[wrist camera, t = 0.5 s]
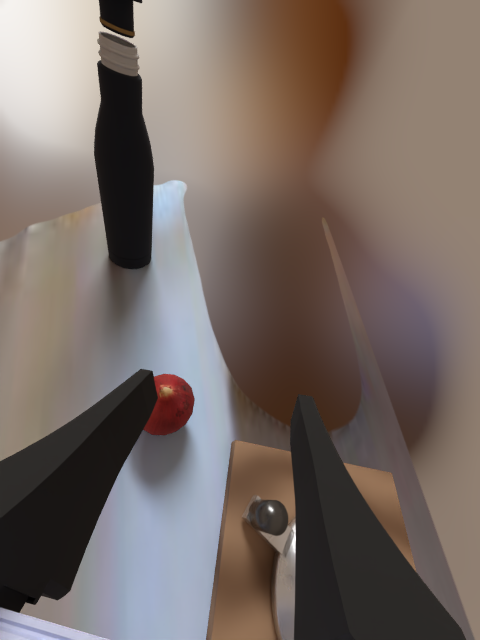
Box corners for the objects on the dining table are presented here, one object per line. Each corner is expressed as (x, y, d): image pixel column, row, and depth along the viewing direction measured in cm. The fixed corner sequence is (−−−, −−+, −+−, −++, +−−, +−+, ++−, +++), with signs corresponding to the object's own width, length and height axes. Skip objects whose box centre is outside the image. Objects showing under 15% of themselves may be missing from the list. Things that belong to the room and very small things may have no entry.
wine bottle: (144, 273, 37) (144, -73, 14) (101, 261, 36) (28, -139, 13) (156, 250, 41) (170, -51, 18) (118, 238, 40) (83, -101, 17)
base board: (458, 808, 17) (546, 896, 13) (180, 834, 14) (194, 965, 10) (382, 473, 30) (416, 470, 27) (231, 442, 27) (246, 433, 23)
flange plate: (401, 566, 23) (445, 578, 20) (377, 776, 16) (441, 854, 12) (276, 450, 26) (296, 443, 23) (205, 582, 18) (218, 602, 15)
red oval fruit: (181, 382, 29) (191, 353, 23) (194, 429, 26) (209, 410, 20) (131, 396, 26) (127, 367, 20) (139, 450, 24) (138, 435, 18)
